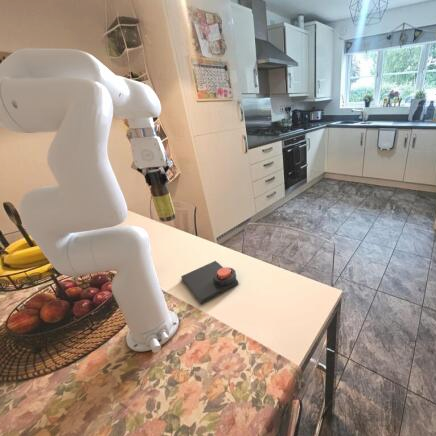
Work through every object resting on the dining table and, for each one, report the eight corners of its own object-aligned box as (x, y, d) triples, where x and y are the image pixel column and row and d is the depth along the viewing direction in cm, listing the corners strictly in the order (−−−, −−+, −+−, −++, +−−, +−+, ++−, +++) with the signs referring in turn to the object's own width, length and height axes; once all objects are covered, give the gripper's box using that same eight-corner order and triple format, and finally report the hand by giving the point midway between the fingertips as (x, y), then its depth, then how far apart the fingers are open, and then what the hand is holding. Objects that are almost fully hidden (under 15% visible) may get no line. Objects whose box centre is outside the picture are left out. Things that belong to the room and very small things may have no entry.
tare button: (233, 275, 82) (233, 271, 81) (221, 281, 79) (221, 277, 79) (227, 269, 85) (226, 265, 84) (215, 275, 82) (214, 271, 82)
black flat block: (241, 282, 83) (240, 274, 81) (201, 304, 74) (199, 296, 73) (219, 263, 94) (217, 255, 92) (182, 280, 85) (179, 272, 84)
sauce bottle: (166, 215, 102) (153, 168, 93) (179, 216, 100) (167, 168, 92) (155, 222, 96) (140, 172, 88) (169, 223, 95) (155, 172, 86)
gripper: (112, 136, 79) (130, 189, 87) (167, 133, 83) (180, 184, 90) (121, 133, 86) (137, 183, 94) (172, 131, 89) (183, 179, 97)
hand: (158, 183), depth 92 cm, fingers closed on sauce bottle, 4 cm apart
